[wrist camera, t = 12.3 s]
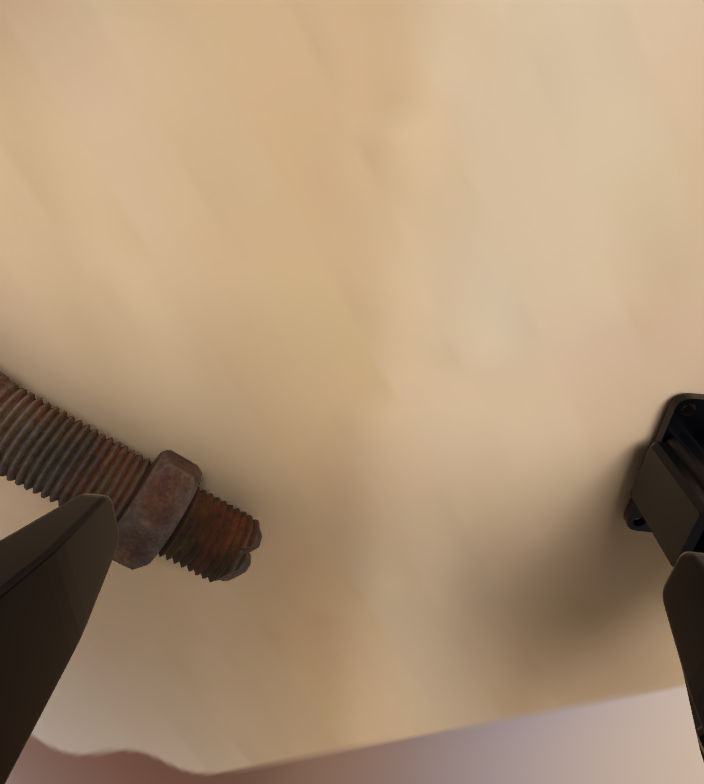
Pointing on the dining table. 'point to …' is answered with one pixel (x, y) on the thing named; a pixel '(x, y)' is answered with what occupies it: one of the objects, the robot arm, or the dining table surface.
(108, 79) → the dining table surface
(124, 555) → the bolt
